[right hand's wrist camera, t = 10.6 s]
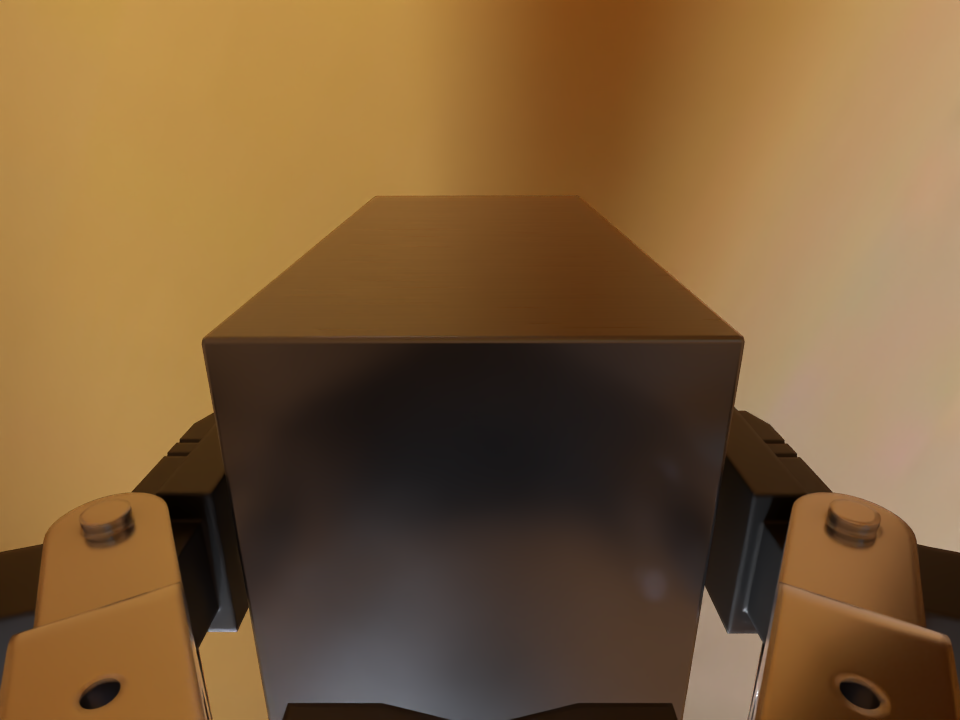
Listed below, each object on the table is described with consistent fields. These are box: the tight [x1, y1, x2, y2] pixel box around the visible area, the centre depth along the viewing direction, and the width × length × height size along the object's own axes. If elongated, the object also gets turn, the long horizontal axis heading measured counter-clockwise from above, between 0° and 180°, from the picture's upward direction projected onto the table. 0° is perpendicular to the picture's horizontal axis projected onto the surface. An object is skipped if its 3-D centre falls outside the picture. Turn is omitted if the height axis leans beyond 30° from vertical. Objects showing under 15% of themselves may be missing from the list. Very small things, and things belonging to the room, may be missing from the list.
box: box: [202, 196, 745, 720], centre depth 17 cm, size 25×6×12 cm, turn 0°
